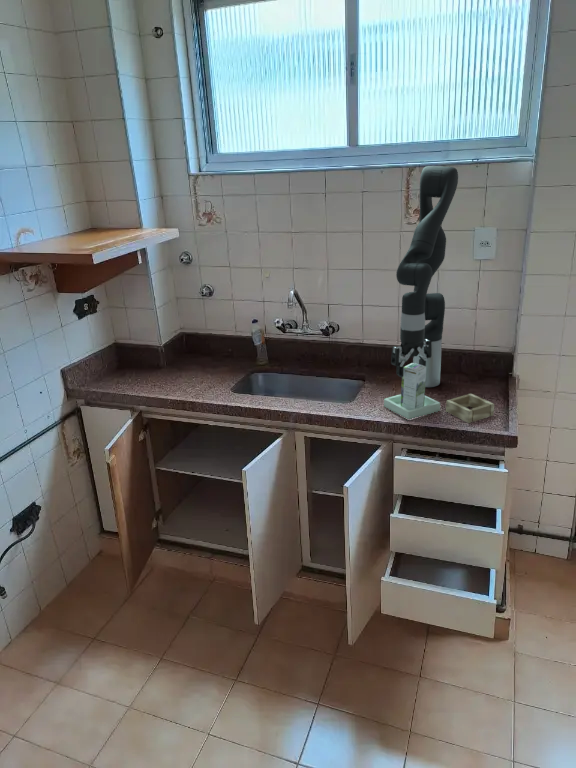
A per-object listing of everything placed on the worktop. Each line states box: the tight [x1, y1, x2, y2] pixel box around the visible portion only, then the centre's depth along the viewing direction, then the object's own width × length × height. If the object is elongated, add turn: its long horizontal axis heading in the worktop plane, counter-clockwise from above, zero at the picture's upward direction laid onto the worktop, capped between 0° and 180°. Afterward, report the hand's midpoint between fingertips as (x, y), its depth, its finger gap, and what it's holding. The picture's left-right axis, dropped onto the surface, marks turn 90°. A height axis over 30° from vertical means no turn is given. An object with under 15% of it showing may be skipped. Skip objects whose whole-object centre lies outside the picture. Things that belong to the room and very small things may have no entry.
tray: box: [383, 393, 441, 419], centre depth 193 cm, size 13×13×3 cm
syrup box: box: [400, 362, 426, 410], centre depth 191 cm, size 6×6×14 cm
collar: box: [445, 393, 495, 424], centre depth 187 cm, size 10×10×4 cm
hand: (410, 373), depth 189 cm, fingers open, 8 cm apart
